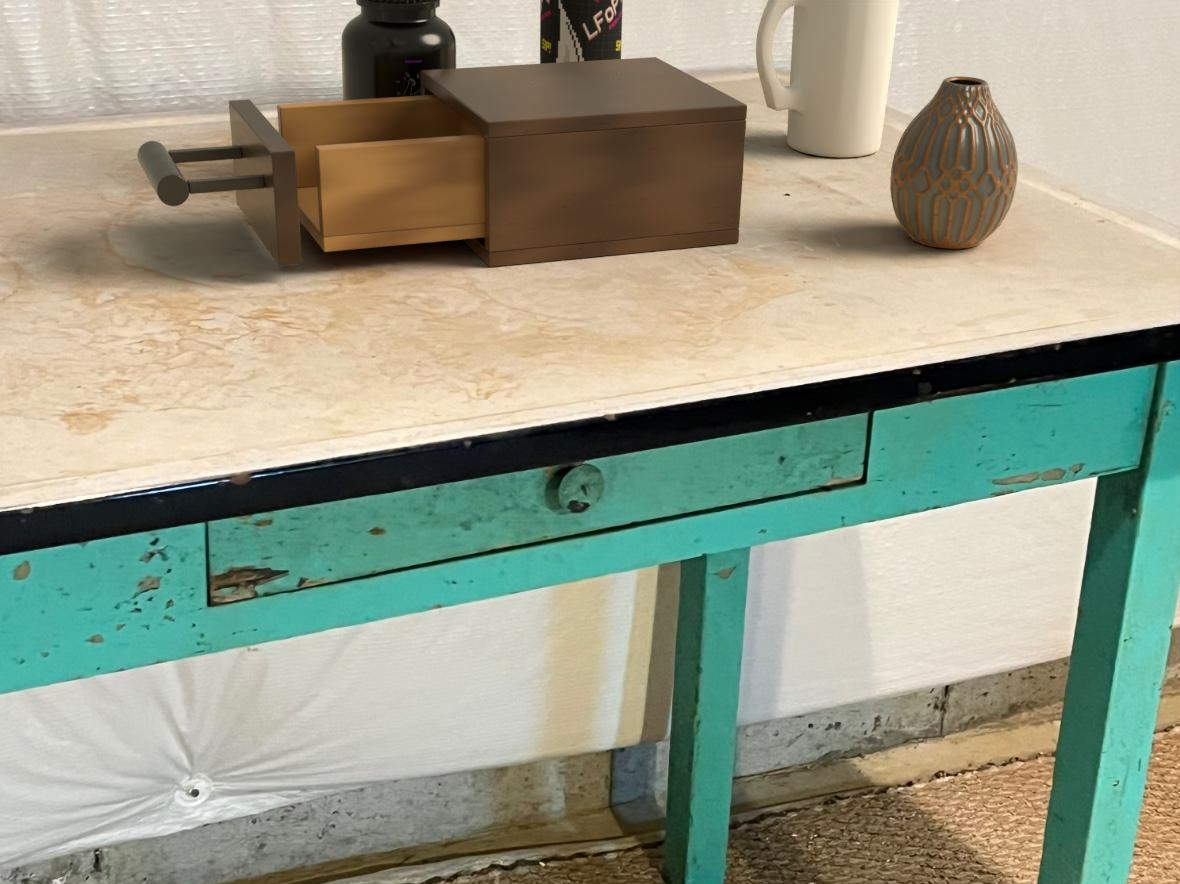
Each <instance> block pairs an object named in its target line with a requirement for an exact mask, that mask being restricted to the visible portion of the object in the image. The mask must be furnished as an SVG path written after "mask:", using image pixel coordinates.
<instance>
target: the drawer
mask: <svg viewBox="0 0 1180 884" xmlns="http://www.w3.org/2000/svg"><path fill="white" fill-rule="evenodd" d="M276 110H277V111H276V112H277V124H278V130H277V129H276V128H275V127H274V125H273V124H272V123H271V122H270V121H269V120H268V118H266V116H265V114H263V113H262V111H261V110H259V108H258V107H257V106H256V104H254V102H253V101H252V100H251V99H235V100H234V99H231V100H228V111H229V122H230V137H231V145H221V146H209V147H194V148H180V149H169V150H168V149H167V147H166V146H165V145H163V144H162V143H161V142H159V141H157V140H148V141H146V142H144V143H142V145H140V146H139V148H138V150H137V161H138V163H139V165H140V167H141V169H142V171H143V172H144V174H145V176H146V178H147V179H148V181H149V183H150V184H151V186H152V188H153V190H154V192H155V194H156V195H157V197H158V199H159V200H160V201H161V203H163V204H164V205H166V206H169V207H178V206H182V205H183V204H184V203H185V202H186V201H187V200H188V198H189V196H190V195H195V194H209V193H221V192H234V191H235V197H236V205H237V206H238V209H240V211H241V213H242V214H243V215H244V217H245V219H246V220H247V222H249V224H250V225H251V227H252V228H253V230H254V231H255V232H256V234H257V236H258V237H259V239H260V240H261V241H262V243H263V245H264V246H265V247H266V248H267V250H268V252H269V253H270V254H271V256H272V257H273V259H274V260H275V262H276V264H277V265H278V266H279V267H287V266H294V265H302V264H303V255H302V238H301V237H302V236H301V224H302V225H303V226H304V228H305V229H306V230H307V231H308V233H309V234H310V236H311V237H312V238H313V239H314V240H315V242H316V243H317V245H318V246H319V247H320V248H321V250H322V251H323V252H324V253H329V252H339V251H350V250H361V249H371V248H373V249H374V248H383V247H384V248H385V247H393V246H394V247H395V246H403V245H404V246H405V245H416V244H427V243H437V242H438V243H439V242H447V241H450V242H451V241H460V240H461V241H462V239H472V238H483V237H485V175H484V135H485V134H484V133H482V132H481V131H480V130H479V129H477V128H476V127H475V126H473V125H472V124H471V123H470V122H468V121H467V120H466V119H465V118H463V117H462V116H461V115H459V114H458V113H457V112H456V111H454V110H453V109H452V108H450V107H449V106H448V105H447V104H445V103H444V102H443V101H442V100H440V99H439V98H438V97H436V96H435V95H423V96H407V97H390V98H374V99H358V100H343V99H342V100H328V101H311V102H297V103H296V102H295V103H279V104H277V105H276ZM226 160H227V161H229V160H232V161H233V172H234V176H233V175H232V176H221V177H207V178H195V179H194V178H193V179H186V178H185V176H184V174H183V173H182V172H181V170H180V168H179V167H178V165H177V164H186V163H187V164H188V163H197V162H198V163H199V162H213V161H214V162H215V161H226ZM300 223H301V224H300Z"/></svg>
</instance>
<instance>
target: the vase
mask: <svg viewBox="0 0 1180 884" xmlns="http://www.w3.org/2000/svg"><path fill="white" fill-rule="evenodd" d="M893 154H894V155H893V159H892V163H891V169H890V182H889V183H890V184H889V185H890V187H889V190H890V199H891V204H892V208H893V211H894V215H895V217H896V219H897V221H898V223H899V225H900V227H901V228H902V229H903V230H904V232H906V234H907V235H908V236H909V237H910V238H911V239H912V240H913V241H915V242H917V243H918V244H921V245H924V246H929V247H933V248H939V249H952V250H953V249H954V250H958V249H968V248H973V247H976V246H978V245H981V243H983V242H984V241H985V240H987V239H988V238H990V237H991V235H993V234H994V233H995V232H996V231H997V229H998V228H1000V226H1001V225H1002V223H1003V222H1004V220H1005V218H1006V217H1007V215H1008V212H1009V210H1010V208H1011V205H1012V203H1013V200H1014V196H1015V192H1016V188H1017V182H1018V173H1019V172H1018V171H1019V170H1018V169H1019V167H1018V165H1019V163H1018V153H1017V148H1016V143H1015V140H1014V136H1013V134H1012V132H1011V130H1010V128H1009V125H1008V124H1007V122H1006V120H1005V119H1004V116H1002V114H1001V112H1000V110H999V109H998V107H997V105H996V104H995V101H994V99H993V97H992V93H991V90H990V86H989V83H988V82H987V81H986V80H984V79H982V78H980V77H979V78H978V77H972V76H962V75H961V76H950V77H946V78H944V79H943V80H942V82H941V84H940V85H939V87H938V89H937V91H936V93H935V94H934V95H933V96H932V98H931V99H930V100H929V101H928V103H927V104H926V105H924V107H923V108H921V110H920V111H919V112H918V114H917V115H916V116H915V117H914V118H913V119H912V120H911V121H910V122H909V123H908V125H907V126H906V127H905V129H904V131H903V133H902V135H901V137H900V139H899V141H898V144H897V146H896V149H895V151H894V153H893Z"/></svg>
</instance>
